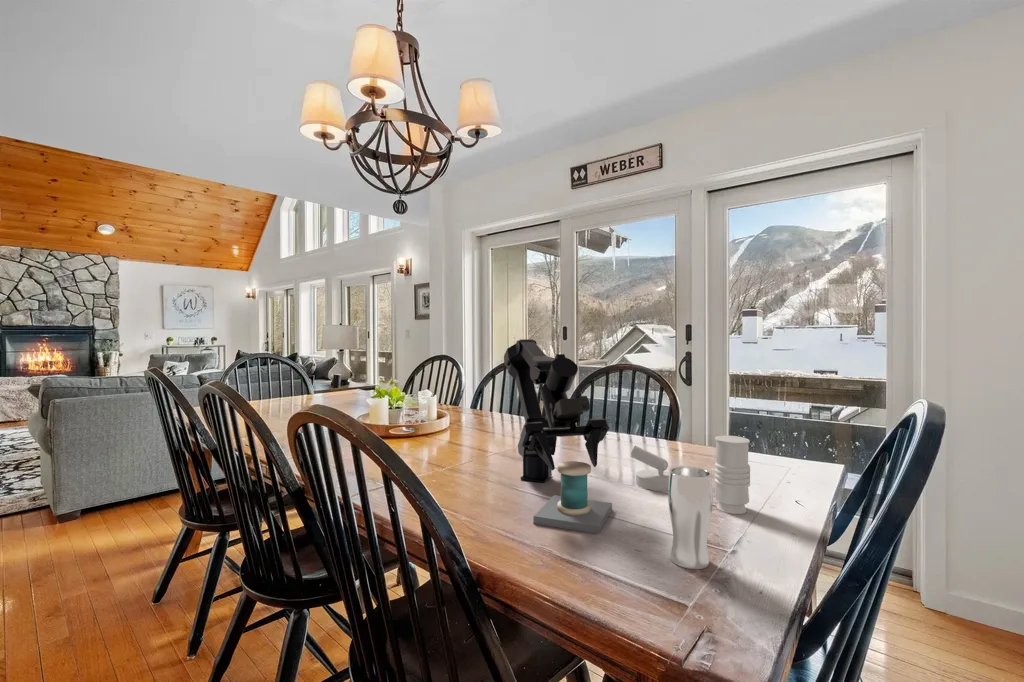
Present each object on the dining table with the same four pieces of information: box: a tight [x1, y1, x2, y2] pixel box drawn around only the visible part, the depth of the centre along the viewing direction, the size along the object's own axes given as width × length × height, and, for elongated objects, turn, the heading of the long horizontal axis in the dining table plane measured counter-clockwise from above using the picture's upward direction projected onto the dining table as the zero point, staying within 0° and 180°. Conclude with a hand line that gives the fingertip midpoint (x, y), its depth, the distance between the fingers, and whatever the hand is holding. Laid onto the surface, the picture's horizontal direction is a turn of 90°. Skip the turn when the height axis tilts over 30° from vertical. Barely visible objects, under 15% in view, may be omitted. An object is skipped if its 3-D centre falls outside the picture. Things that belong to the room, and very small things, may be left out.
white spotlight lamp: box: [630, 444, 670, 491], centre depth 121 cm, size 9×10×10 cm
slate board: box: [532, 494, 613, 535], centre depth 101 cm, size 13×13×2 cm
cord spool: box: [557, 460, 592, 516], centre depth 101 cm, size 7×7×9 cm
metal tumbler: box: [667, 465, 714, 570], centre depth 81 cm, size 7×7×15 cm
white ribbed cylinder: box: [713, 435, 751, 515], centre depth 104 cm, size 7×7×15 cm
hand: (574, 467), depth 100 cm, fingers open, 9 cm apart
